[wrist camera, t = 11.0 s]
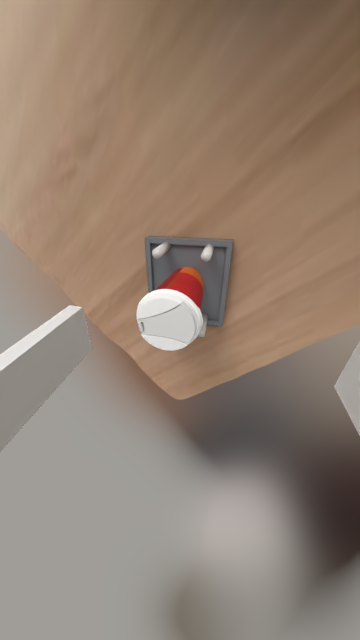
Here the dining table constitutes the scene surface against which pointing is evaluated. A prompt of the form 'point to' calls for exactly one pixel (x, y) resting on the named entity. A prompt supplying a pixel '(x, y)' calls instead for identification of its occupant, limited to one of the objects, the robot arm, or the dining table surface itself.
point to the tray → (203, 257)
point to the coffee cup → (173, 311)
